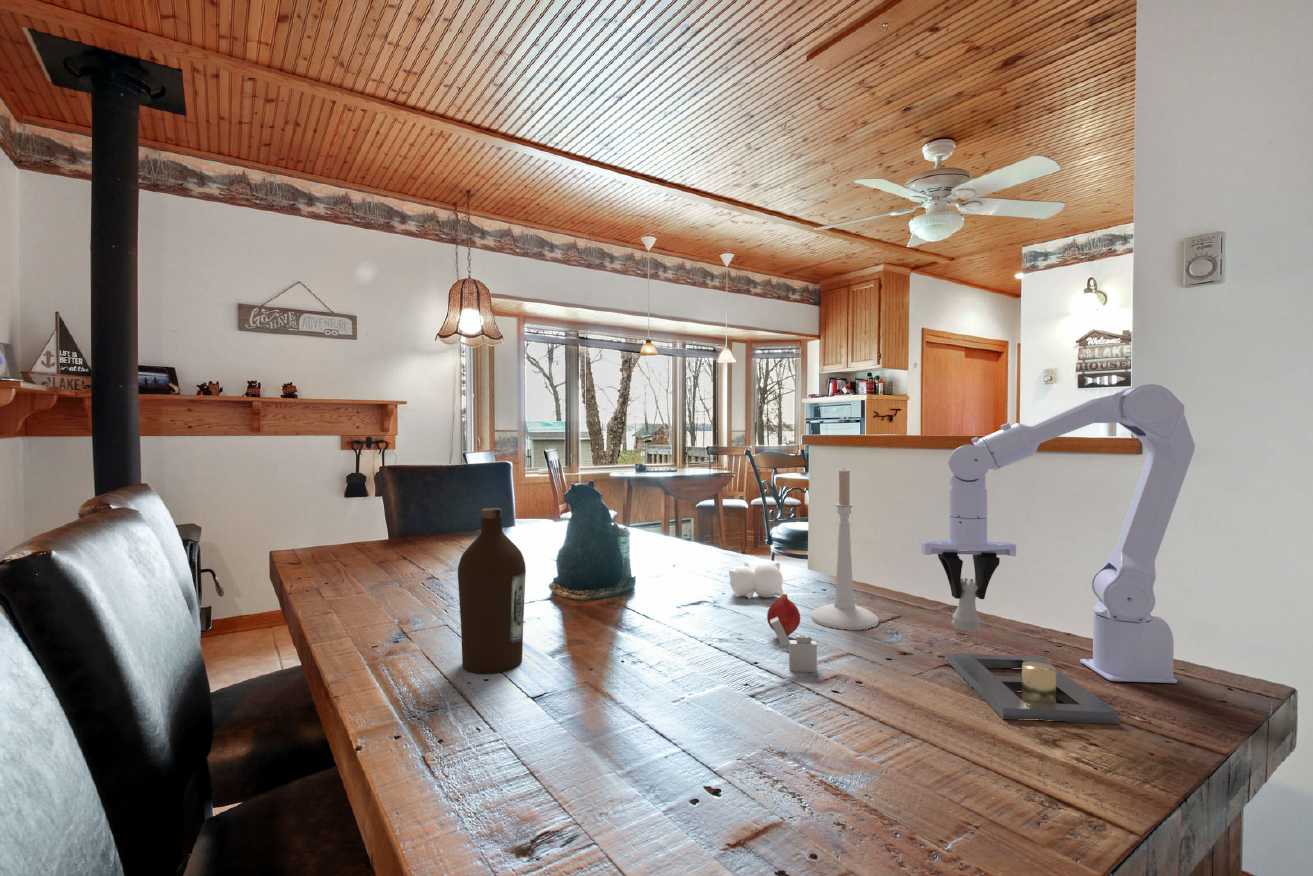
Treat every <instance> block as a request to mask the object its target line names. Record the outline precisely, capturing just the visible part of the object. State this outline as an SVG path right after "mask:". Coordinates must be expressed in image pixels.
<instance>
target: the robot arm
mask: <svg viewBox="0 0 1313 876" xmlns="http://www.w3.org/2000/svg"><path fill="white" fill-rule="evenodd" d="M1092 424H1118V425H1121V426H1122V427H1123V428H1125V429H1127V430H1128V431H1130V432H1131V433H1132V434H1134V435H1135V436H1136V437H1137V440H1139V442H1141V444H1142V445H1143V446H1144V448H1145V449H1146V450H1147V453H1148V454H1147V456H1146V459H1145V462H1144V464H1143V468H1142V470H1141V473H1140V477H1139V478H1138V482H1137V485H1136V488H1135V490H1134V492H1133V495H1132V499H1131V502H1130V505H1129V507H1128V511H1127V514H1126V516H1125V519H1124V522H1123V525H1122V527H1121V531H1120V533H1119V536H1118V539H1117V541H1116V545H1115V546H1114V548H1113V550H1112V551H1111V552H1110V553H1109V554H1108V556H1107V557H1106V561H1105V562H1104V564H1103V566H1102V567H1101V568H1099V569H1098V570H1097V571H1096V572H1095V573H1094V574H1093V576H1092V579H1091V589H1092V592H1093V594H1094V595H1095V596H1096V598H1098V602H1097V603H1096V604H1095V605H1094V606H1093V607H1092V611H1093V612H1092V658H1080V661H1079V662H1080V663H1081V664H1082V665H1085V666H1086V667H1088V668H1089V669H1091V670H1092V671H1094V672H1095V673H1097V674H1099V675H1100V676H1101V677H1103V678H1105V679H1107V680H1108V681H1110V682H1111V681H1112V682H1134V683H1135V682H1137V683H1163V684H1165V683H1166V684H1178V679H1177V678H1175V677H1174V655H1175V654H1174V652H1175V651H1174V648H1175V647H1174V644H1175V643H1174V641H1175V640H1174V636H1173V632H1172V629H1171V627H1170V625H1169V623H1168V622H1167V621H1166V620H1164V619H1163V618H1162V617H1160V616H1156V615H1152V614H1151V613H1152V612H1153V610H1154V608H1155V605H1156V597H1155V593H1154V585H1155V583H1156V577H1157V575H1156V574H1157V571H1156V559H1157V555H1158V553H1159V551H1160V547H1161V545H1162V541H1163V539H1164V536H1165V533H1166V530H1167V528H1168V525H1169V523H1170V520H1171V517H1172V515H1173V511H1174V508H1175V507H1176V503H1177V500H1178V497H1179V494H1180V492H1181V489H1182V486H1183V483H1184V481H1185V478H1186V476H1187V472H1188V470H1189V467H1190V464H1191V461H1192V458H1193V456H1194V453H1195V447H1196V446H1195V445H1196V444H1195V441H1194V438H1193V436H1192V433H1191V430H1190V428H1189V427H1190V426H1189V425H1188V422H1187V419H1186V416H1185V405H1184V403H1183V402H1182V401H1181V400H1179V399H1178V397H1177V396H1175V394H1174V393H1173V392H1172V391H1171V390H1169V389H1168V388H1167V387H1165V386H1162V385H1160V384H1154V383H1147V384H1141V385H1138V386H1136V387H1135V386H1134V387H1128V388H1124V389H1122V390H1120V391H1117V392H1114V393H1113V392H1112V393H1109V394H1106V395H1101V396H1097V397H1093V398H1089V399H1088V400H1086V401H1084V402H1080V403H1078V404H1077V405H1074V406H1072V407H1070V408H1067V409H1066V410H1063V411H1061V412H1059V413H1056V414H1054V415H1052V416H1050V417H1048V418H1046V419H1044V420H1041V421H1038V422H1037V423H1035V424H1033V425H1026V424H1023V423H1020V422H1016V423H1014V424H1012V425H1011V424H1010V423H1009V422H1006V423H1004V424H1001V425H1000V429H999V430H997V431H995V432H993V433H990V434H987V435H986V436H983V437H980V438H979V437H977V436H976V437H973V438H971V442H972V444H963V445H961V446H959V447H957V448H955V449H954V450H953V451H952V452H951V454H950V456H949V458H948V459H949V461H948V466H949V467H948V468H949V469H950V471H951V472H952V474H950V478H949V485H950V487H949V489H948V492H949V493H948V494H949V496H948V498H949V499H948V500H949V501H948V503H949V504H948V510H949V511H948V514H949V516H948V518H949V519H948V522H949V527H948V528H949V529H948V530H949V533H948V535H949V538H948V539H947V540H932V541H931V540H930V541H929V540H928V541H925V540H922V541H921V553H922V554H924V555H927V556H928V555H929V556H930V555H937V557H938V559H939V561H940V563H941V565H942V567H943V570H944V572H945V575H946V577H947V580H948V583H949V587H950V592H951V596H952V597H953V598H954V599H960V598H961V578H962V570H963V565H964V561H963V560H962V559H961V558H960V556H959V555H972V560H973V567H974V580H976V581H977V585H978V586H979V588H978V589H977V590H976V592H975V593H976V595H977V597H976V598H978V599H980V600H985V597H986V593H987V589H988V586H989V584H990V580H991V578H992V577H993V575H994V573H995V571H996V569H997V568H998V567H999V565H1000V562H1001V561H1000V559H1001V558H1000V557H998V556H1001V555H1002V556H1010V557H1016V556H1017V544H1015V543H1013V542H1007V541H1005V542H1004V541H1003V542H1002V541H991V540H989V541H988V490H987V488H986V474H987V473H988V472H989V470H994V471H997V470H999V469H1002V468H1005V467H1007V466H1010V465H1012V464H1015V463H1018V462H1020V461H1022V460H1025V459H1028V458H1031V457H1032V456H1035V454H1036V453H1037V451H1038V447H1039V446H1040V444H1041V443H1045V442H1047V441H1050V440H1052V439H1055V438H1058V437H1060V436H1062V435H1065V434H1068V433H1070V432H1074V431H1076V430H1079V429H1082V428H1083V427H1087V426H1089V425H1092Z"/></svg>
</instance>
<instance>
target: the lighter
mask: <svg viewBox="0 0 1313 876" xmlns="http://www.w3.org/2000/svg"><path fill="white" fill-rule="evenodd" d="M770 623H771V625H772V627H773V629H774V630H773V629H772V630H773V632H774V633H775V636H776V637H777V640H778V641H779V643H780V646H781V647H785V646H788V669H789V672H808V673H817V672H818V643H817V641H816V640H813V639H812V637H811V636H810V635H807V634H796V636H795V637H796V638H795V640H794V639H789V636H788V637H787V635H786V633H785V631H784V629H783V627H782V625H781V623H780V621H779V619H778V617H776V618H773V619H771V620H770Z"/></svg>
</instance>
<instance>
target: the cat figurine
mask: <svg viewBox="0 0 1313 876" xmlns="http://www.w3.org/2000/svg"><path fill="white" fill-rule="evenodd" d="M780 567H781V564H780V562H774V563H770V562H767V561H761V562H759V563H757V564H756V565H755V566H754V567H753V568H752V567H751V565H750V564H749V562H747V561H745V562H743V565H737V566H735V567H734V568H733V569H732V568H731V569H729V571H728V575H729V584H730V588H731V590H732V591H733V593H735V594H736V595H737V596H738V597H739V596H740V597H745V596H746V597H748V598H751V597H752V598H753V596H754V594H756V595H757V596H758V597H760V596H761V597H760V598H763V597H765V598H764V599H769V598H772V597H773V596H779V597H781V596H782V595H783V594H785V593H784V590H783V587H782V586H783V582H784V579H783V574H782V573H781V570H780ZM768 597H769V598H768ZM752 598H751V599H752Z"/></svg>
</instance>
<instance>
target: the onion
mask: <svg viewBox="0 0 1313 876" xmlns="http://www.w3.org/2000/svg"><path fill="white" fill-rule="evenodd" d="M766 614H767V615H766V618H767V624H768V625H769V627H770V628H771V629H772V630H773V631H774V629H773V627H772V625H771V623H770V620H771V619H773V618H776V617H778V619H779V621H780V623H781V625H782V627H783V629H784V631H785V633H786V635H787V637H788V638H789V636H790V635H791V634H792V633H794V632H795V631H796V630H797V629H798V627H799V625H800V624H801V614H800V611H799V609H798V607H797V605H796V604H794V602H792V600H790V599H789V598H788V593H784V594H783V595H782V596H779V598H777V599H775V600H774V601H773V602H772V603H771V605H770V606H769V608H768V611H767V613H766Z"/></svg>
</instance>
